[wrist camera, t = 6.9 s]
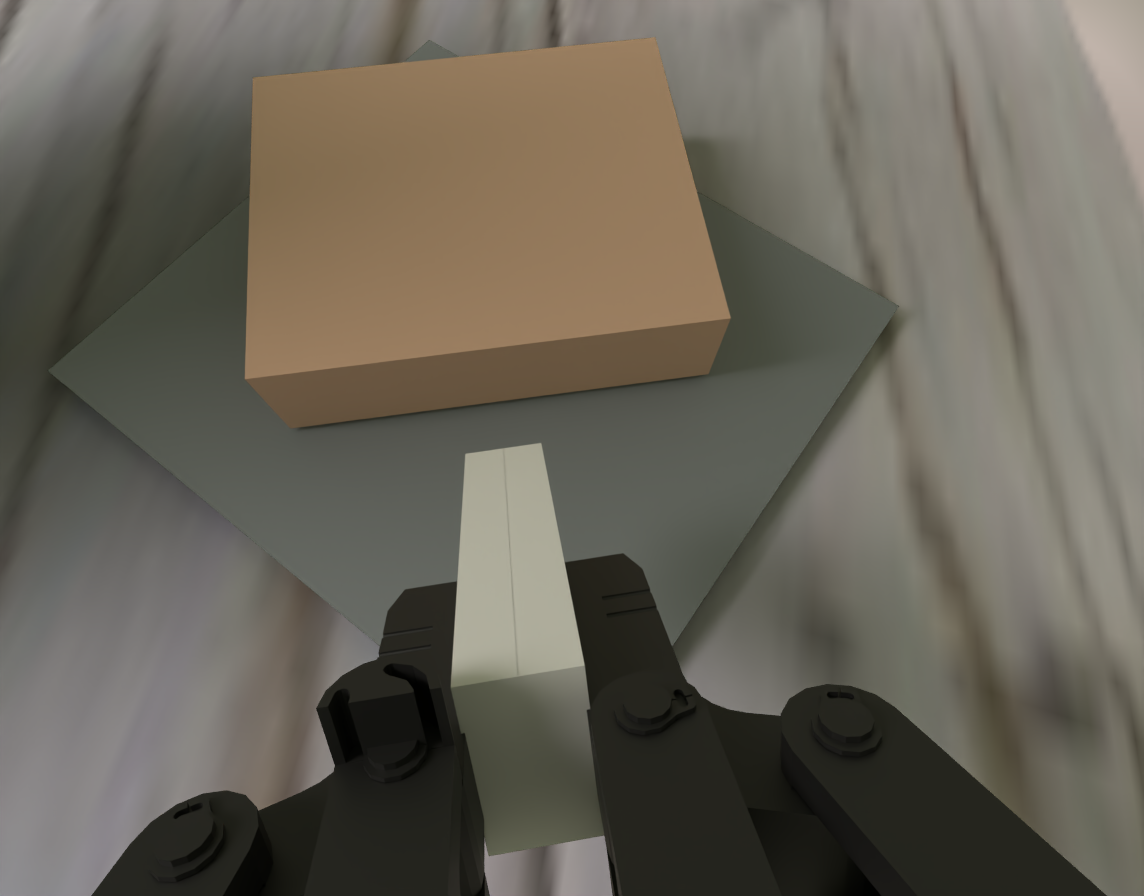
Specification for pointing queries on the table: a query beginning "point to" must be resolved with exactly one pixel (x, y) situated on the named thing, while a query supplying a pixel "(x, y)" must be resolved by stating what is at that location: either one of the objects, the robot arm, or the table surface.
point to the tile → (473, 234)
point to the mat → (485, 429)
